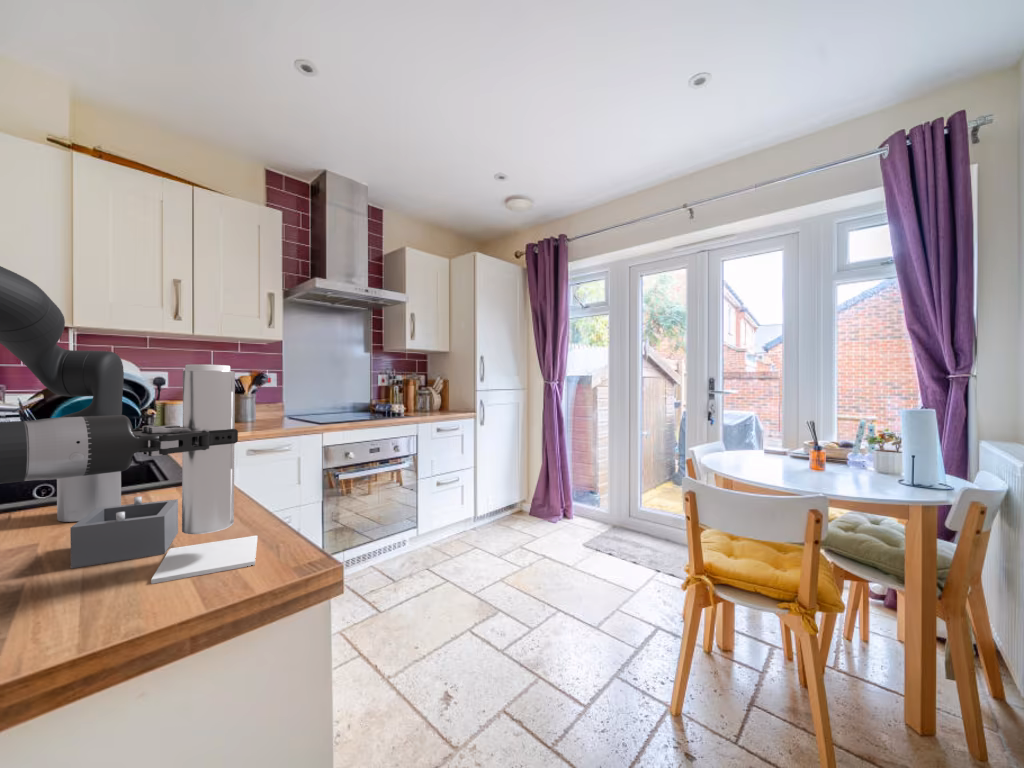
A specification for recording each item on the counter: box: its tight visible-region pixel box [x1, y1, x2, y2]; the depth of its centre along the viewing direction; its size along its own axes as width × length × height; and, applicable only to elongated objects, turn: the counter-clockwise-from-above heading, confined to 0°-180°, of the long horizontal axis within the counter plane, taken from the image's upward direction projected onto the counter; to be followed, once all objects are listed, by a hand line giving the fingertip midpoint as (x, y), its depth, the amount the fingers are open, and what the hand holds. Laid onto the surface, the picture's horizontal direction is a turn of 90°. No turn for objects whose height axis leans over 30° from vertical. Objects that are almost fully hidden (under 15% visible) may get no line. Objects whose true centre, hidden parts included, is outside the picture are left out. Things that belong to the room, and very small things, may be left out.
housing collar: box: [70, 496, 179, 569], centre depth 70 cm, size 11×11×7 cm
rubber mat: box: [150, 535, 259, 585], centre depth 66 cm, size 12×12×1 cm
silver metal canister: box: [181, 363, 236, 535], centre depth 65 cm, size 6×6×25 cm
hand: (228, 434), depth 68 cm, fingers closed on silver metal canister, 5 cm apart
